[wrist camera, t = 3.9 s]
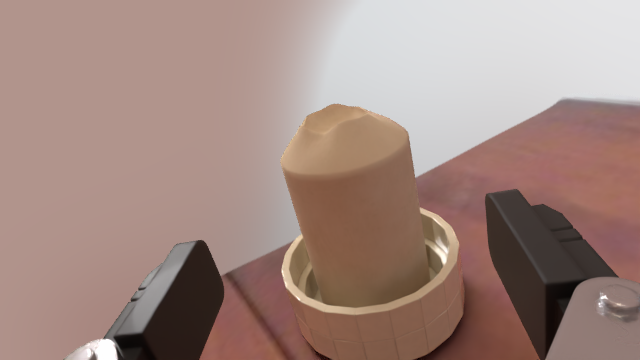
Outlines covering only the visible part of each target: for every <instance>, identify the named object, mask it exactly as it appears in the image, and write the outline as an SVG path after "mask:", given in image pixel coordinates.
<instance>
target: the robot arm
mask: <svg viewBox="0 0 640 360" xmlns="http://www.w3.org/2000/svg"><path fill="white" fill-rule="evenodd" d="M485 205H486V219H487V233H488V245H489V251H490V255H491V258H492V262H493V264H494V267H495V269H496V271H497V273H498V275H499V277H500V279H501V281H502V283H503V285H504V287H505V289H506V291H507V293H508V295H509V297H510V299H511V301H512V303H513V305H514V307H515V309H516V311H517V313H518V315H519V317H520V319H521V322H522V324H523V326H524V328H525V330H526V332H527V334H528V336H529V338H530V340H531V342H532V344H533V346H534V348H535V350H536V352H537V354H538V356H539V358H540V360H640V283H637V282H635V281H631V280H628V279H623V278H619V277H618V276H617V275H616V274H615V273H614V272H613V270H612V269H611V268H610V267H609V266H608V265H607V264H606V263H605V261H604V260H603V259H602V258H601V257H600V256H599V255H598V254H597V253H596V251H595V250H594V249H593V248H592V247H591V246H590V245H589V244H588V242H587V241H586V240H585V239H584V240H583V238H582V236H581V235H580V233H579V232H578V231H577V230H576V229H573V226H572V225H571V223H570V222H569V221H568V220H567V219H566V218H565V217H564V216H563V214H562V213H560V212H558V211H556V210H554V209H552V208H550V207H548V206H546V205H544V204H541V205H534V206H531V205H530V204H529V203H528V202H527V200H526V199H525V198H524V197H523V195H522V194H521V193H520V192H519V190H517V189H513V190H507V191H501V192H495V193H488V194H486V197H485ZM223 299H224V286H223V281H222V279H221V276H220V274H219V272H218V269H217V267H216V265H215V262H214V260H213V258H212V255H211V253H210V251H209V248H208V246H207V244H206V243H205V242H204V241H202V240H198V241H192V242H185V243H179V244H176V245H175V246H174V247H173V249H172V250H171V252H170V253H169V255H168V256H167V258H166V259H165V261H164V262H163V263H161V264H160V265H159V266H158V267H157V268H155V269H154V270H153V271H152V272H151V273H150V274H149V275H147V277H146V278H145V280H144V281H143V283H142V284H141V285H140V287H139V288H138V291H136V292H135V294H134V295H133V297H132V298H131V302H128V304H127V305H126V307H125V308H124V310H123V311H122V312H121V314H120V315H119V317H118V318H117V319H116V321H115V322H114V324H113V325H112V327H111V328H110V329H109V331H108V332H107V334H106V335H105V337H104V338H103V339H99V340H96V341H92V342H89V343H87V344H85V345H83V346H81V347H79V348H77V349H76V350H74V351H73V352H72V353H70V354H69V355H68V356H67V357H66V358H64V359H63V360H199V358H200V356H201V354H202V351H203V349H204V346H205V344H206V341H207V339H208V337H209V334H210V332H211V329H212V327H213V324H214V322H215V319H216V317H217V315H218V312H219V310H220V307H221V305H222V302H223Z"/></svg>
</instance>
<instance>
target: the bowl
mask: <svg viewBox="0 0 640 360" xmlns="http://www.w3.org/2000/svg"><path fill="white" fill-rule="evenodd" d="M420 213H421V220H422V227H423V233H424V240H425V246H426V253H427V259H428V266H429V273H430V280H431V281H430V282H429V283H427V284H426V285H425V286H423V287H422V288H420V289H419V290H418V291H416V292H415V293H413V294H410V295H408V296H405V297H402V298H400V299H397V300H395V301H392V302H389V303H387V304H381V305H374V306H366V307H359V308H352V307H341V306H331V305H326V304H324V303H323V301H322V298H321V295H320V292H319V288H318V285H317V282H316V278H315V275H314V272H313V268H312V265H311V262H310V259H309V255H308V252H307V249H306V245H305V242H304V239H303V236H302V234H301V235H300V236H299V237H297V238H296V239H295V240H294V242H293V243H292V245H291V246H290V248H289V249H288V251H287V252H286V254H285V257H284V261H283V266H282V270H281V272H282V276H283V280H284V283H285V287H286V290H287V293H288V295H289V298H290V301H291V304H292V307H293V310H294V312H295V315H296V318H297V321H298V324H299V327H300V330H301V333H302V334H303V337H304V338H305V339H306V340H307V341H308V342H309V344H310V345H311V346H312V347H313V348H314V349H315V350H316V351H318V353H320V354H322V355H324V356H326V357H328V358H330V359H332V360H414V359H417V358H419V357H422V356H424V355H427V354H428V353H430V352H432V351H433V350H434V349H435V348H437V347H438V346H439V345H440V344H441V343H443V342H444V341H445V340H446V339H448V338H449V337H450V335H452V333H453V331H454V329H455V328H456V326H457V324H458V322H459V321H460V319H461V317H462V315H463V309H464V298H465V292H464V283H463V274H462V265H461V256H460V247H459V242H458V239H457V237H456V235H455V233H454V230H453V228H452V227H451V226H450V225H449V224H448V223H447V222H446V221H444V220H443V219H442V218H441V217H440V216H438V215H437V214H434V213H432V212H429V211H427V210H425V209H422V208H420Z"/></svg>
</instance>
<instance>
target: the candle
mask: <svg viewBox="0 0 640 360" xmlns="http://www.w3.org/2000/svg"><path fill="white" fill-rule="evenodd" d="M280 163H281V166H282V169H283V173H284V176H285V179H286V183H287V186H288V189H289V193H290V196H291V199H292V203H293V206H294V209H295V212H296V216H297V219H298V222H299V226H300V229H301V232H302V236H303V239H304V242H305V245H306V249H307V252H308V255H309V259H310V262H311V265H312V268H313V272H314V275H315V278H316V282H317V285H318V288H319V292H320V295H321V298H322V301H323V303H324V304H326V305H331V306H341V307H352V308H359V307H366V306H374V305H381V304H387V303H389V302H392V301H395V300H397V299H400V298H402V297H405V296H408V295H410V294H413V293H415V292H416V291H418V290H419V289H420V288H422V287H423V286H425V285H426V284H427V283H429V282H430V281H431V280H430V273H429V266H428V259H427V253H426V246H425V240H424V233H423V227H422V220H421V213H420V207H419V200H418V194H417V187H416V181H415V174H414V167H413V161H412V154H411V148H410V141H409V135H408V132H407V131H406V130H405V129H404V128H403V127H402V126H400V125H399V124H397V123H396V122H394V121H393V120H391V119H389V118H387V117H384V116H382V115H379V114H376V113H373V112H371V111H368V110H365V109H363V108H360V107H349V106H345V105H341V104H332V105H329V106H327V107H326V108H324V109H322V110H320V111H317V112H315V113H312V114H310V115H308V116H307V117H306V118H305V120H304V121H303V123H302V125H301V126H299V129H298V131H297V133H296V134H295V136H294V137H293V139H292V140H291V142H290V143H289V145H288V146H287V148H286V150H285V152H284V153H283V156H282V158H281V162H280Z"/></svg>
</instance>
